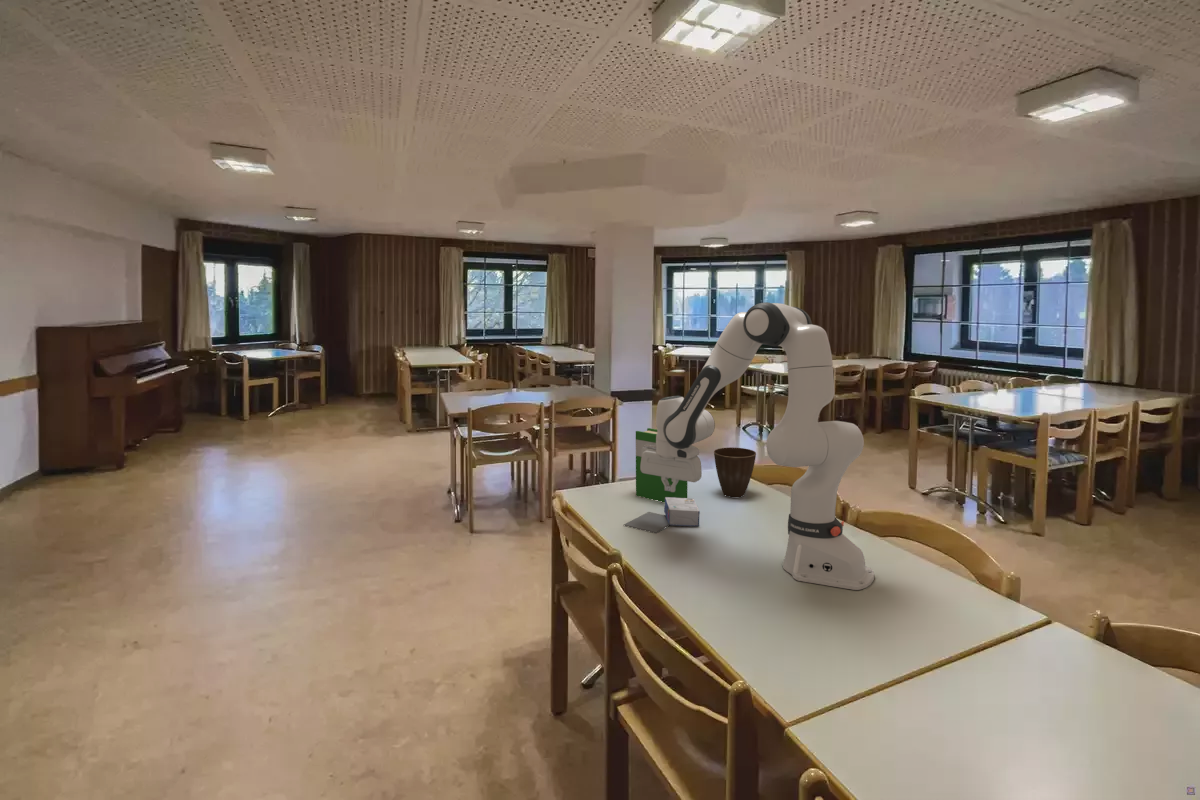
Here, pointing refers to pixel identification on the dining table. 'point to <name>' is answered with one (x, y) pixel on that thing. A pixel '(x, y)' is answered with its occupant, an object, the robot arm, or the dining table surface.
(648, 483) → the hardback book
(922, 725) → the dining table surface
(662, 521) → the mat
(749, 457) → the plant pot
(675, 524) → the ink cartridge box
